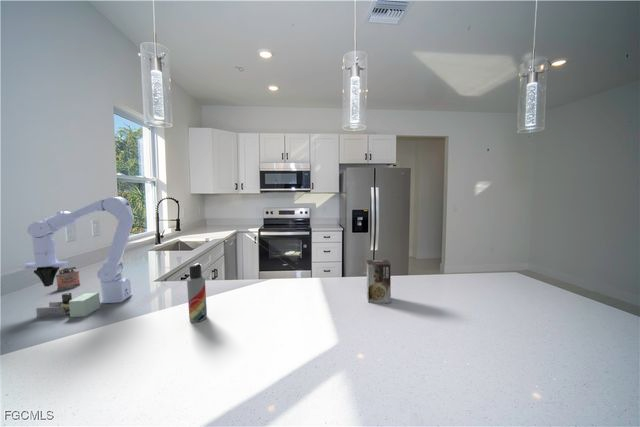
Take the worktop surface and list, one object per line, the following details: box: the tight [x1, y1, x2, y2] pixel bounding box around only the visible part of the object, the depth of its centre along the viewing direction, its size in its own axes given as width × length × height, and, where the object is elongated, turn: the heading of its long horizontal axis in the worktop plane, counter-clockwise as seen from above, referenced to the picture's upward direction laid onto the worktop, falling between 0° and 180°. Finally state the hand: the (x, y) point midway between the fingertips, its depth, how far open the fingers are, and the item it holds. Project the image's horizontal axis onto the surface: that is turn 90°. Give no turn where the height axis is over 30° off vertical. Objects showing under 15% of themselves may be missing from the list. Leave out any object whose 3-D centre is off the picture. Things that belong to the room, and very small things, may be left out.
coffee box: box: [366, 259, 392, 304], centre depth 104 cm, size 9×6×16 cm
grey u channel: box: [35, 301, 70, 319], centre depth 96 cm, size 9×5×4 cm, turn 96°
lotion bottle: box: [186, 263, 208, 323], centre depth 90 cm, size 6×6×20 cm
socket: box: [69, 292, 101, 318], centre depth 97 cm, size 5×7×6 cm
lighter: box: [55, 265, 81, 291], centre depth 122 cm, size 8×3×10 cm, turn 143°
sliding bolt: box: [60, 292, 73, 311], centre depth 96 cm, size 9×3×6 cm, turn 96°
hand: (48, 285), depth 99 cm, fingers closed
